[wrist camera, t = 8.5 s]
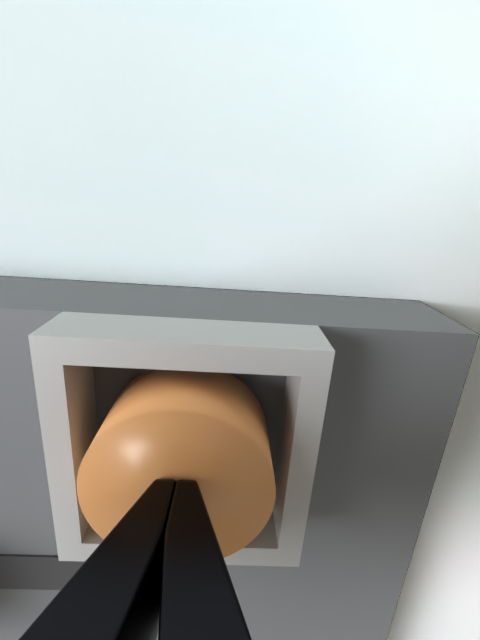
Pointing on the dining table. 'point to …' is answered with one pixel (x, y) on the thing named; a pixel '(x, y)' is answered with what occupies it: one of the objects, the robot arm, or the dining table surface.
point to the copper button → (183, 452)
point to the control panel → (282, 426)
